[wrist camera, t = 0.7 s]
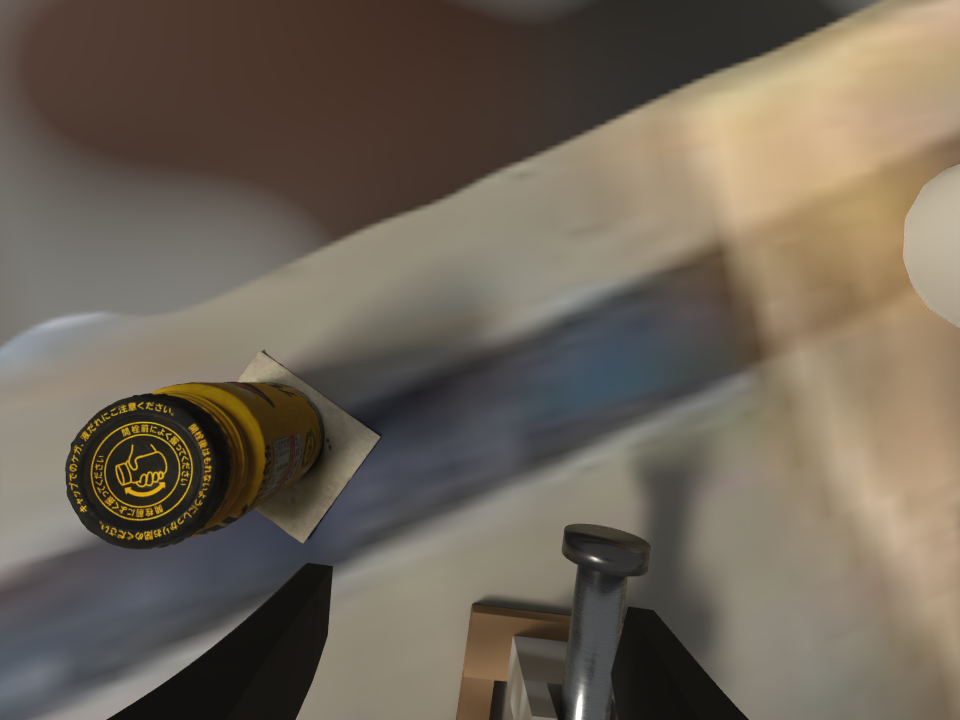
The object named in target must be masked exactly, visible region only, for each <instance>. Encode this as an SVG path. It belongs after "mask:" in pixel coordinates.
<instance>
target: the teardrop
mask: <svg viewBox="0 0 960 720" xmlns="http://www.w3.org/2000/svg"><path fill="white" fill-rule="evenodd" d="M903 260H904V263H905V266H906V269H907V272H908V275H909V278H910V281H911V284H912V286H913V288H914V289H915V290H916V292H917V293H918V295H919V296H920V297H921V299H922V300H923V302H924V303H925V304H926V306H927V307H928V309H930V310H931V311H933V312H935V313H936V314H938V315H939V316H941V317H942V318H944V319H945V320H947V321H949V322H950V323H952V324H953V325H955V326H956V327H958V328H959V329H960V164H958V165H955V166H952V167H950V168H947V169H945V170H943V171H942V172H941V173H939V174H938V175H937V176H935V177H934V178H933V179H931V180H930V181H929V182H927V183H926V184H925V185H924V186H923V188H922V190H921V191H920V193H919V195H918V197H917V198H916V200H915V202H914V204H913V205H912V207H911V209H910V211H909V212H908V214H907V216H906V218H905V230H904V249H903Z"/></svg>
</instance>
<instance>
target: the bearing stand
mask: <svg viewBox="0 0 960 720" xmlns="http://www.w3.org/2000/svg"><path fill="white" fill-rule="evenodd" d="M570 622H571V616H567V615H559V614H550V613H542V612H534V611H525V610H517V609H508V608H500V607H492V606H483V605H475V604H472V608H471V615H470V623H469V630H468V637H467V644H466V652H465V659H464V666H463V673H462V680H461V688H460V695H459V702H458V709H457V716H456V720H489V716H490V708H491V701H492V694H493V686H494V680H498V681H507V685H508V691H509V696H510V702H511V708H512V713H513V719H514V720H558V715H559V707H560V699H561V691H562V684H563V676H564V668H565V660H566V653H567V645H568V637H569V629H570ZM623 625H624V622H622V625H621V633H622V629H623ZM621 633H620V636H621ZM610 720H618V717H617V712H616V706H615V700H614V694H613V697H612V705H611V713H610Z"/></svg>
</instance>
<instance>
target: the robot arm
mask: <svg viewBox="0 0 960 720" xmlns="http://www.w3.org/2000/svg"><path fill="white" fill-rule="evenodd" d="M332 572H333V566H327V565H320V564H313V563H307V564H305V565H304V566H303V567H302V568H301V569H300V570H298V571H297V572H296V573H295V574H294V575H293V576H292V577H291V578H290V579H289V580H288V581H287V582H286V583H285V584H284V585H283V586H282V587H281V588H280V589H279V590H278V591H277V592H276V593H275V594H274V595H272V596H271V597H270V598H269V599H268V600H267V601H266V602H265V603H264V604H263V605H262V606H260V607H259V608H258V609H257V610H256V611H255V612H254V613H252V614H251V615H250V616H249V617H248V618H247V619H246V620H245V621H243V622H242V623H241V624H240V625H239V626H238V627H236V628H235V629H234V630H233V631H232V632H230V633H229V634H228V635H227V636H225V637H224V638H223V639H222V640H220V641H219V642H218V643H217V644H216V645H214V646H213V647H212V648H211V649H209V650H208V651H207V652H206V653H204V654H203V655H202V656H200V657H199V658H198V659H196V660H195V661H194V662H192V663H191V664H190V665H188V666H187V667H186V668H184V669H183V670H182V671H180V672H179V673H177V674H176V675H175V676H173V677H172V678H170V679H169V680H167V681H166V682H165V683H163V684H162V685H160V686H159V687H157V688H156V689H154V690H153V691H151V692H150V693H148V694H147V695H145V696H144V697H142V698H140V699H139V700H137V701H136V702H134V703H133V704H131V705H130V706H128V707H126V708H125V709H123V710H122V711H120V712H118V713H117V714H115V715H113V716H112V717H110V718H109V719H107V720H296V717H297V715H298V713H299V711H300V708H301V706H302V704H303V702H304V699H305V697H306V695H307V693H308V690H309V688H310V686H311V684H312V681H313V678H314V675H315V673H316V670H317V667H318V664H319V661H320V658H321V655H322V651H323V648H324V645H325V642H326V639H327V636H328V624H329V611H330V598H331V585H332ZM611 681H612V687H613V694H614V700H615V706H616V712H617V717H618V720H749V719H748V718H747V717H746V716H745V715H744V714H743V713H742V712H741V711H740V710H739V709H738V708H737V707H736V706H735V705H734V704H733V702H732V701H731V700H730V699H729V698H728V697H727V696H726V695H725V694H724V693H723V691H722V690H721V689H720V688H719V687H718V686H717V685H716V684H715V682H714V681H713V680H712V679H711V678H710V677H709V675H708V674H707V673H706V672H705V671H704V670H703V669H702V667H701V666H700V665H699V664H698V663H697V661H696V660H695V659H694V658H693V657H692V656H691V654H690V653H689V652H688V651H687V650H686V648H685V647H684V646H683V645H682V644H681V642H680V641H679V640H678V639H677V638H676V636H675V635H674V634H673V633H672V632H671V630H670V629H669V628H668V627H667V626H666V624H665V623H664V622H663V621H662V620H661V618H660V617H659V616H658V615H657V614H656V613H655V612H654V610H649V609H641V608H634V607H628V610H627V614H626V618H625V621H624V625H623V629H622V633H621V636H620V640H619V644H618V648H617V651H616V655H615V659H614V663H613V666H612V670H611Z"/></svg>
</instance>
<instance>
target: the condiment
mask: <svg viewBox="0 0 960 720" xmlns="http://www.w3.org/2000/svg"><path fill="white" fill-rule="evenodd" d="M327 438H328V439H329V442H328V443H327V442H326V439H327ZM379 438H380V436H379V435H377V434H376V433H374V432H373V431H371V430H370V429H369V428H367V427H366V426H364V425H363V424H362V423H360V422H359V421H358V420H356V419H354V418H353V417H352V416H350V415H349V414H347V413H346V412H345V411H343V410H342V409H341V408H339V407H338V406H336V405H335V404H334V403H332V402H331V401H329V400H328V399H327V398H325V397H324V396H323V395H321V394H320V393H319V392H317V391H316V390H314V389H313V388H312V387H310V386H309V385H307V384H306V383H305V382H303V381H302V380H300V379H299V378H298V377H296V376H295V375H293V374H292V373H291V372H289V371H288V370H286V369H285V368H284V367H282V366H281V365H279V364H278V363H277V362H275V361H274V360H272V359H271V358H269V357H268V356H267V355H265V354H264V353H262V352H260V351H259V352H258V354H257V355H256V357H255V358H254V359H253V360H252V362H251V363H250V364H249V366H248V367H247V368H246V370H245V371H244V372H243V374H242V375H241V377H240V378H239V380H238V381H237V382H224V383H207V382H206V383H203V382H201V383H196V382H191V383H185V384H177V385H173V386H169V387H164V388H161V389H159V390H157V391H155V392H153V393H149V394H142V395H134V396H132V397H129V398H125V399H122V400H119V401H116V402H114V403H113V404H111V405H109V406H107V407H105V408H104V409H102V410H101V411H99V412H98V413H97V414H96V415H95V416H94V417H93V418H92V419H91V420H89V421H88V423H87V424H86V425H85V426H84V427H83V428H82V429H81V430H80V432H79V433H78V434H77V436H76V438H75V440H74V441H73V442H72V443H71V451H70V453H69V455H68V458H67V462H66V468H65V471H66V485H67V497H68V499H69V501H70V503H71V505H72V507H73V509H74V510H75V512H76V514H77V515H78V517H79V519H80V520H81V522H82V523H83V525H84V526H85V527H86V528H87V530H89V531H90V532H92V533H93V534H95V535H97V536H99V537H100V538H101V539H103V540H105V541H106V542H108V543H110V544H113V545H116V546H120V547H123V548H129V549H152V548H154V547H157V548H163V547H167V546H169V545H171V544H172V545H175V544H177V543H179V542H182V541H183V540H184V539H185V538H189V537H194V536H199V535H202V534H208V533H211V532H214V531H216V530H219V529H221V528H224V527H226V526H227V525H229V524H231V523H232V522H234V521H236V520H237V519H239V518H240V517H242V516H243V515H245V514H246V513H248V512H250V511H251V510H253V509H255V510H257V511H258V512H260V513H261V514H263V515H264V516H265V517H266V518H268V519H270V520H271V521H273V522H274V523H275V524H277V525H278V526H279V527H281V528H282V529H283V530H284V531H286V532H287V533H288V534H289V535H291V536H293V537H294V538H296V539H297V540H298V541H300V542H301V543H304V542H305V540H306V539H307V537H308V536H309V535H310V533H311V532H312V530H313V529H314V528H315V527H316V525H317V524H318V522H319V521H320V520H321V518H322V517H323V516H324V514H325V513H326V511H327V510H328V509H329V507H330V506H331V505H332V503H333V502H334V500H335V499H336V498H337V496H338V495H339V494H340V492H341V491H342V489H343V488H344V487H345V485H346V484H347V483H348V481H349V480H350V479H351V477H352V476H353V474H354V473H355V472H356V470H357V469H358V467H359V466H360V465H361V463H362V462H363V461H364V459H365V458H366V456H367V455H368V453H369V452H370V451H371V449H372V448H373V447H374V445H375V444H376V443H377V441H378V440H379ZM328 445H331V448H332V449H331V450H330V451H329V448H328Z"/></svg>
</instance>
